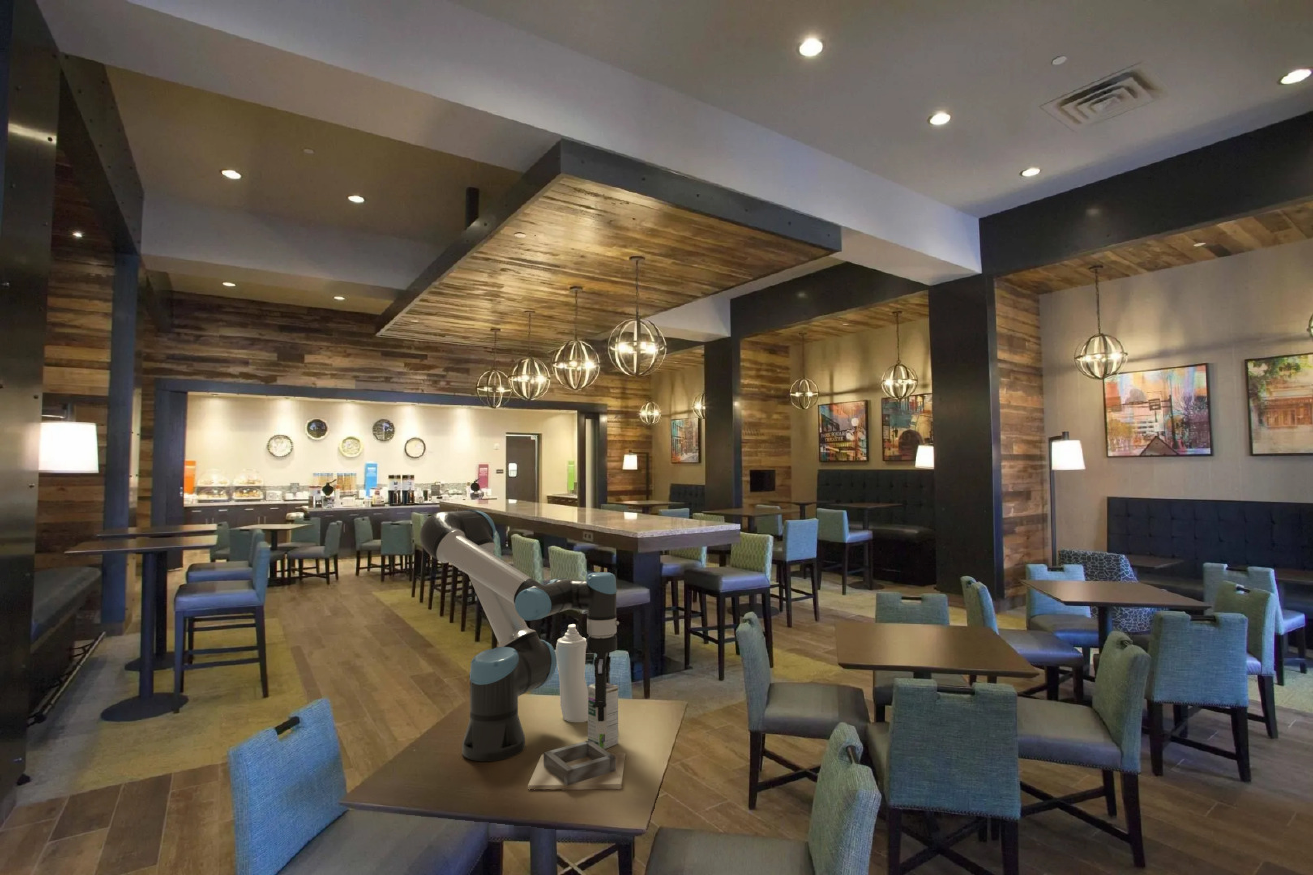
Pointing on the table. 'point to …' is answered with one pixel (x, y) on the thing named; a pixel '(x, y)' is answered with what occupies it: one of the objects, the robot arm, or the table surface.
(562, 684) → the spray can
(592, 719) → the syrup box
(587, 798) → the table surface
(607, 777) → the socket board
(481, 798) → the table surface
